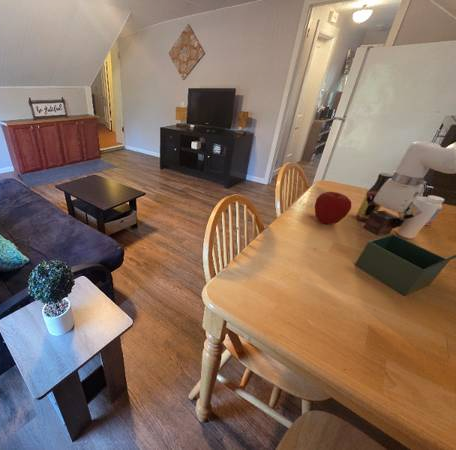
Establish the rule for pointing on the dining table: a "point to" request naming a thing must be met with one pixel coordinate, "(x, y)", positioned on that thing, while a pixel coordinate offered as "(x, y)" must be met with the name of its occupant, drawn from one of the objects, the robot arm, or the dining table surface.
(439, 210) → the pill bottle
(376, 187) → the sauce bottle
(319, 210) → the apple
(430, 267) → the flap
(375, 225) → the box
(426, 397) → the dining table surface
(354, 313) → the dining table surface
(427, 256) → the bin
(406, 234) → the white coffee cup
